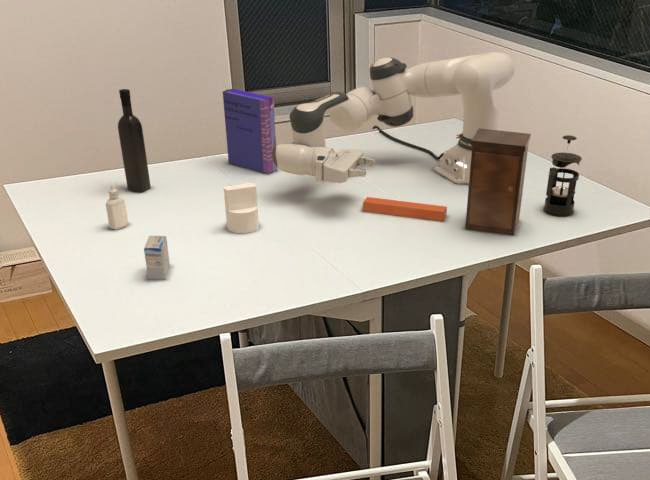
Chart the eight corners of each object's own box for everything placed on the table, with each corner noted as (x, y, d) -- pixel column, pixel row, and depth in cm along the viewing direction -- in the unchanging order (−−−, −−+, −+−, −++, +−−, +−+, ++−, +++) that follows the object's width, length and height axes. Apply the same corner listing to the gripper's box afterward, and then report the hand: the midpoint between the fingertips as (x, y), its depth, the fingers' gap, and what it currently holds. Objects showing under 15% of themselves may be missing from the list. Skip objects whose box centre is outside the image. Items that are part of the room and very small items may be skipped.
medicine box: (153, 266, 214) (148, 235, 209) (170, 266, 214) (166, 235, 209) (148, 280, 207) (143, 248, 202) (166, 279, 208) (161, 248, 203)
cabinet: (463, 230, 240) (470, 141, 225) (471, 214, 250) (478, 128, 235) (514, 237, 237) (525, 147, 222) (520, 220, 247) (530, 133, 232)
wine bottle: (126, 190, 257) (110, 91, 240) (137, 184, 262) (122, 86, 245) (141, 193, 256) (126, 93, 239) (152, 187, 260) (138, 89, 243)
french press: (581, 215, 252) (593, 140, 239) (555, 219, 249) (567, 143, 236) (559, 202, 261) (570, 128, 248) (534, 205, 258) (544, 131, 245)
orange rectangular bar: (363, 211, 249) (363, 201, 248) (367, 206, 253) (367, 196, 251) (443, 221, 245) (444, 211, 243) (446, 216, 248) (447, 206, 247)
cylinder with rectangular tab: (232, 235, 232) (229, 194, 225) (223, 223, 238) (219, 183, 231) (263, 230, 235) (260, 189, 228) (252, 219, 242) (249, 179, 235)
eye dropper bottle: (131, 227, 234) (124, 186, 227) (111, 230, 231) (104, 189, 225) (126, 221, 237) (119, 181, 230) (107, 225, 234) (99, 184, 228)
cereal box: (277, 170, 277) (273, 97, 263) (268, 174, 273) (263, 100, 260) (238, 160, 284) (232, 88, 270) (228, 163, 281) (222, 90, 267)
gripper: (336, 162, 256) (379, 167, 254) (315, 184, 240) (360, 189, 237) (336, 142, 253) (379, 147, 250) (314, 162, 237) (360, 168, 234)
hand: (370, 168), depth 244 cm, fingers open, 8 cm apart
